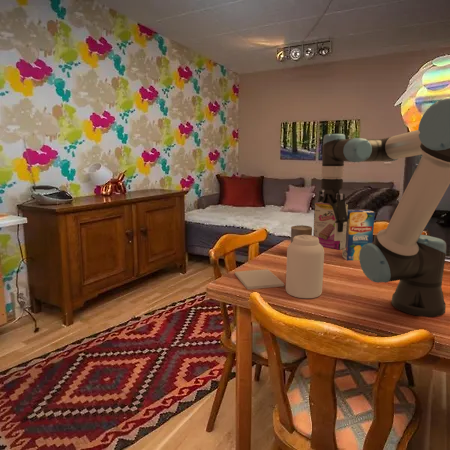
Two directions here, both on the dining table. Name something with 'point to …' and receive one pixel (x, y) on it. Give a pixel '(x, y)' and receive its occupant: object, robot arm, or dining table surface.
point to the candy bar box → (327, 226)
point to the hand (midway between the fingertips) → (329, 237)
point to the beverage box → (358, 232)
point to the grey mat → (258, 279)
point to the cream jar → (304, 267)
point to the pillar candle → (300, 231)
